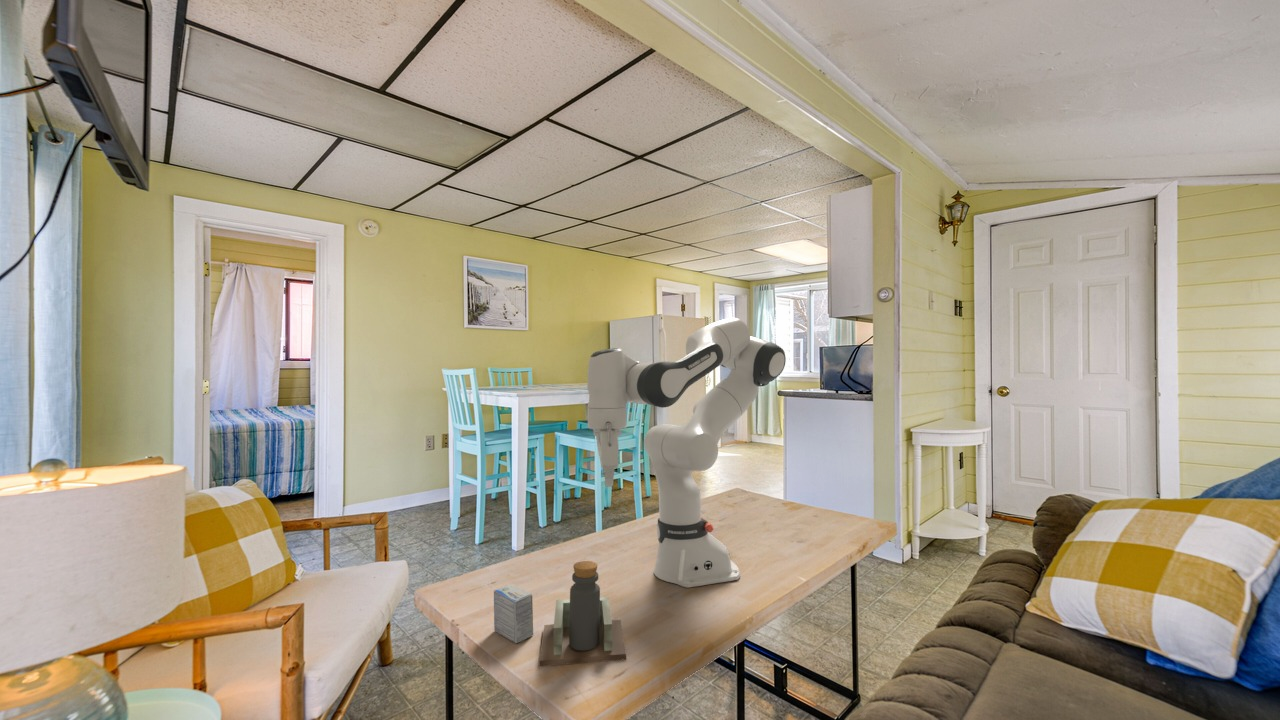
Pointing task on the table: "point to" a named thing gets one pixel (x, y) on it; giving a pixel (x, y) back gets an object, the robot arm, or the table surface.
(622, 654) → the u rest
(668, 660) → the table surface
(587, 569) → the bottle
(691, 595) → the table surface
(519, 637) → the medicine box
